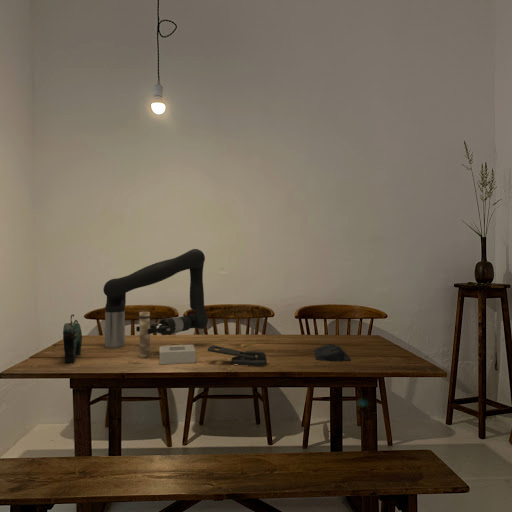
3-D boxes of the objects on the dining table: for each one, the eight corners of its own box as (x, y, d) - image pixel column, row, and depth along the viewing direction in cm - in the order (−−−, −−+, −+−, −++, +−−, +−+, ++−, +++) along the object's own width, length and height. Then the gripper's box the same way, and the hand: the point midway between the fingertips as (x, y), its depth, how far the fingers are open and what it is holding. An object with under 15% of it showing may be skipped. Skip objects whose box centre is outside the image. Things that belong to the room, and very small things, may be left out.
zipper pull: (211, 344, 207) (267, 346, 203) (211, 359, 207) (267, 362, 203) (205, 349, 198) (264, 351, 194) (205, 364, 198) (264, 367, 194)
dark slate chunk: (344, 351, 226) (344, 341, 226) (351, 362, 204) (351, 351, 204) (312, 350, 227) (312, 340, 226) (315, 362, 205) (315, 351, 204)
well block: (159, 364, 198) (159, 352, 198) (159, 357, 211) (159, 345, 211) (195, 362, 201) (195, 351, 201) (193, 355, 214) (193, 344, 214)
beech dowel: (139, 358, 209) (139, 313, 208) (139, 355, 213) (139, 311, 213) (150, 357, 210) (149, 312, 209) (150, 355, 214) (150, 311, 214)
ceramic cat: (75, 364, 198) (75, 316, 197) (59, 365, 197) (58, 317, 196) (84, 353, 218) (84, 310, 217) (69, 354, 216) (69, 310, 216)
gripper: (161, 316, 227) (133, 320, 215) (181, 319, 218) (152, 323, 205) (162, 331, 227) (133, 336, 215) (181, 335, 218) (152, 341, 206)
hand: (142, 330), depth 210 cm, fingers open, 8 cm apart
